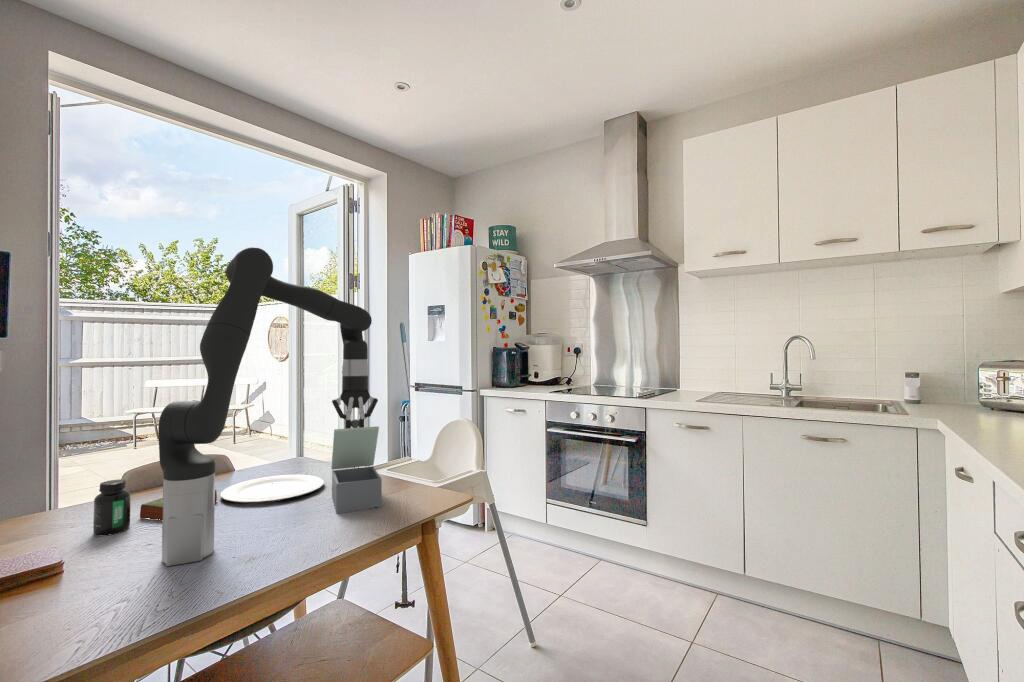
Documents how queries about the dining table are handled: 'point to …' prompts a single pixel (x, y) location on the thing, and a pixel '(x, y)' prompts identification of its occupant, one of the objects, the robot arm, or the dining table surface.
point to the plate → (272, 488)
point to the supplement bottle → (112, 508)
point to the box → (356, 489)
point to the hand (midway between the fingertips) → (354, 431)
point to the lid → (354, 446)
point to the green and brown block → (156, 509)
